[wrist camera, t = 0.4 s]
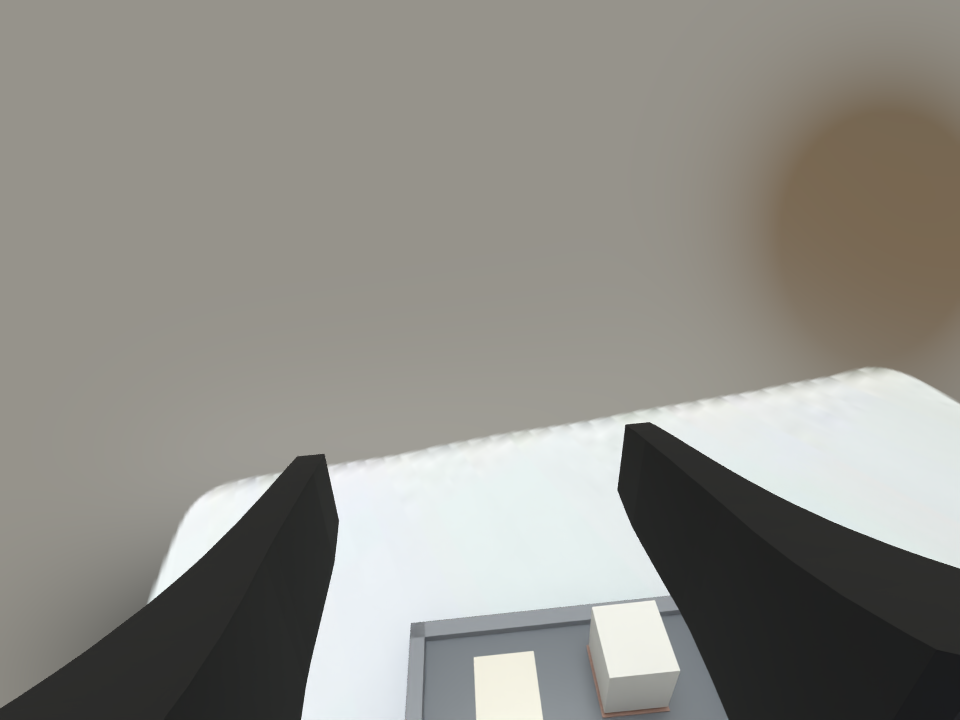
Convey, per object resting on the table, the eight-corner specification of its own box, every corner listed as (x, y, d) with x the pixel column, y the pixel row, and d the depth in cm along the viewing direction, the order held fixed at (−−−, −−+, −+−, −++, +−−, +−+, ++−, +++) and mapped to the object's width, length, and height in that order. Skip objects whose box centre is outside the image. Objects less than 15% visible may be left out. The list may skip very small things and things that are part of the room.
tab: (667, 706, 22) (680, 670, 20) (604, 713, 22) (609, 678, 20) (645, 639, 25) (654, 600, 22) (588, 645, 25) (592, 606, 22)
